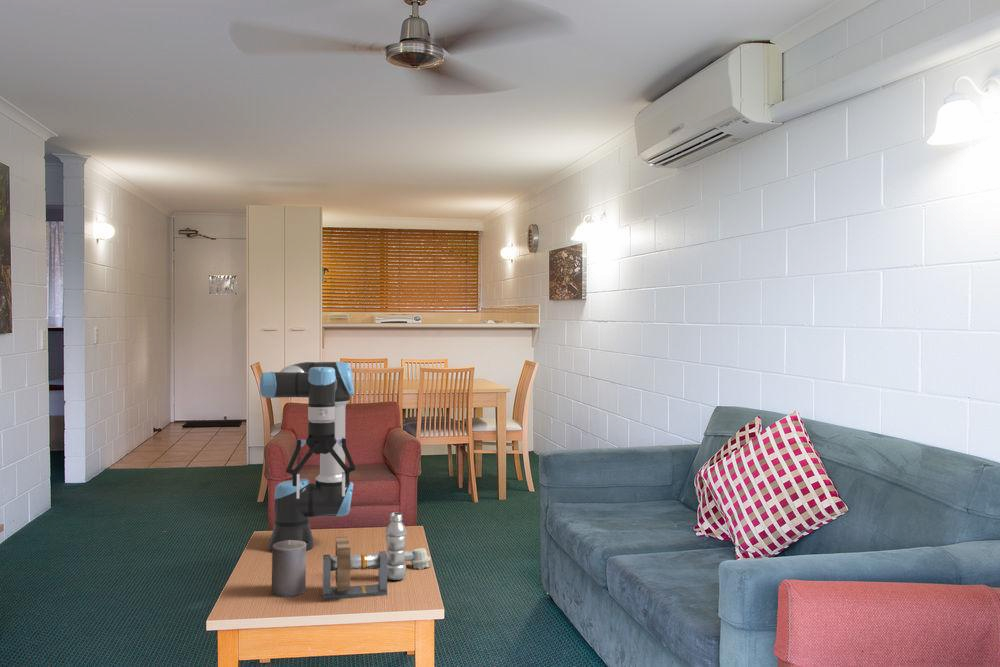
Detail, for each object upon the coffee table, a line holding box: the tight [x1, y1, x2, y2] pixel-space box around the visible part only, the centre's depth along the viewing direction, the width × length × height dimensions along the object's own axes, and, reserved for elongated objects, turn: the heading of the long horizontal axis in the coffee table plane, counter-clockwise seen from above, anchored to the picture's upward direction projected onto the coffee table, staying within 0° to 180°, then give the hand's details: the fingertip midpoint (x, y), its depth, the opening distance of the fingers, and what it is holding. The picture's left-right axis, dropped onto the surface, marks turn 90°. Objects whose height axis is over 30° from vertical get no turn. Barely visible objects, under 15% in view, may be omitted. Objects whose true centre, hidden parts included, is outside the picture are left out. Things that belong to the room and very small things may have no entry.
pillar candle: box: [271, 540, 307, 598], centre depth 227 cm, size 10×10×15 cm
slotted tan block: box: [334, 536, 351, 591], centre depth 225 cm, size 12×4×12 cm, turn 15°
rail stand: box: [322, 550, 388, 601], centre depth 226 cm, size 7×18×11 cm, turn 105°
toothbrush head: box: [377, 547, 431, 570], centre depth 250 cm, size 5×7×25 cm
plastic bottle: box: [385, 512, 408, 581], centre depth 239 cm, size 6×7×20 cm
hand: (320, 496), depth 223 cm, fingers open, 12 cm apart
